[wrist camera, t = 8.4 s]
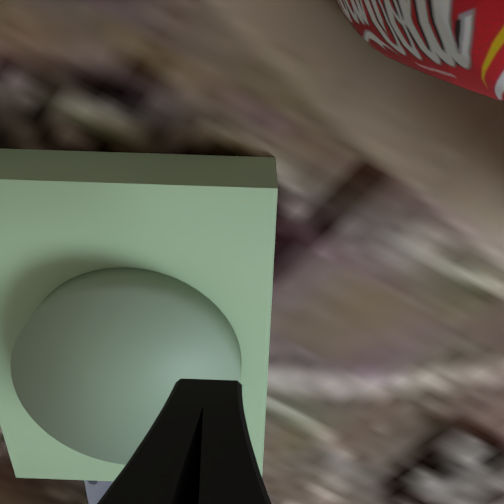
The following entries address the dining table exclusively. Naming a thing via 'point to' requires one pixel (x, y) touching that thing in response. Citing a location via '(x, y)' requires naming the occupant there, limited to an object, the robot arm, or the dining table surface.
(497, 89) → the soda can
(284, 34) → the dining table surface
